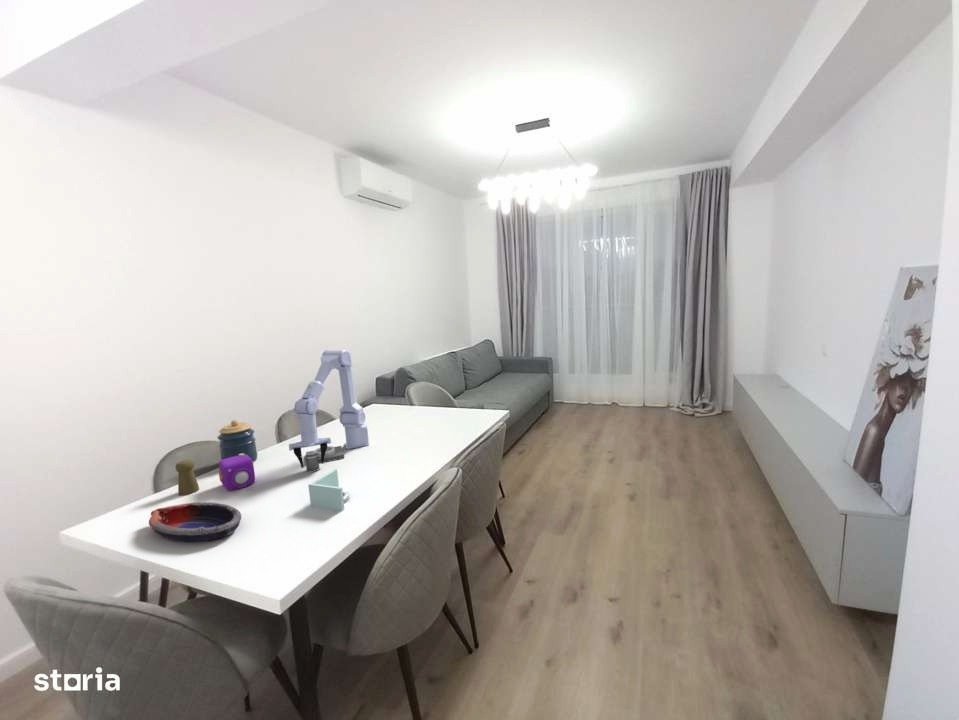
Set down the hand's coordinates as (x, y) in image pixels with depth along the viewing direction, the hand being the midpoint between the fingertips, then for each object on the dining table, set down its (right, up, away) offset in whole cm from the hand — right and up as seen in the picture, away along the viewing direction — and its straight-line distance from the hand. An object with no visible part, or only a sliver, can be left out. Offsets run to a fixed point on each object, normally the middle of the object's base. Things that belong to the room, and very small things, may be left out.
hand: (312, 464), depth 156 cm
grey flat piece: (0, 0, +13) cm, 13 cm away
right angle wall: (+19, -5, -25) cm, 32 cm away
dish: (-17, -9, -39) cm, 43 cm away
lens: (0, -2, 0) cm, 2 cm away
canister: (-35, -2, +12) cm, 37 cm away
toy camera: (-21, -5, -11) cm, 24 cm away
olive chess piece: (-37, -6, -14) cm, 40 cm away
